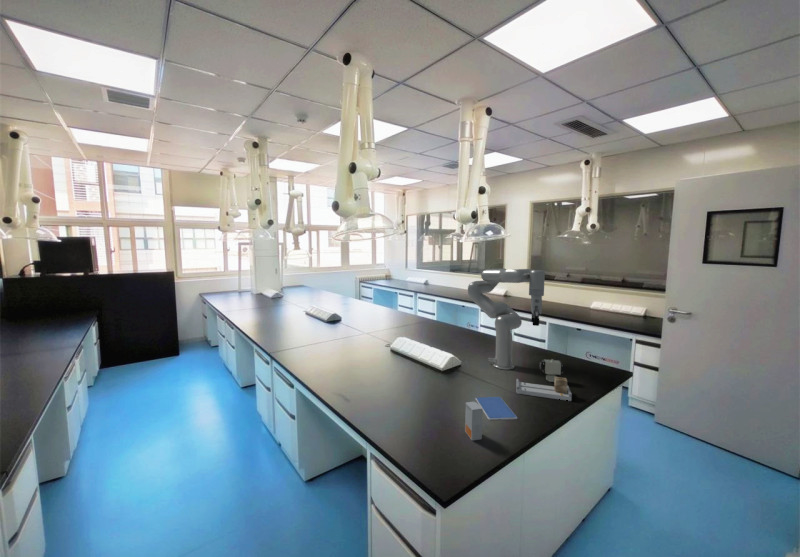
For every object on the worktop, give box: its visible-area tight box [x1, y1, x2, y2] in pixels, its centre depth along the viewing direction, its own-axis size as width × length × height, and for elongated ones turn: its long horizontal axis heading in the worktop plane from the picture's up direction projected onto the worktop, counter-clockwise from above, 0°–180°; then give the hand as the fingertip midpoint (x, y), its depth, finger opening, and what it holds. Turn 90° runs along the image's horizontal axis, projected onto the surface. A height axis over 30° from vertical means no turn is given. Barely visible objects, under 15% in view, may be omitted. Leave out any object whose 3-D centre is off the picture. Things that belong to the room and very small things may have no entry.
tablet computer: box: [474, 396, 518, 421], centre depth 140 cm, size 19×13×1 cm, turn 4°
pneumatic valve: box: [539, 358, 566, 383], centre depth 170 cm, size 6×12×12 cm, turn 76°
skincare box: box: [464, 401, 483, 441], centre depth 118 cm, size 6×4×12 cm
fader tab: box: [553, 376, 568, 393], centre depth 153 cm, size 5×4×6 cm
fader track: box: [515, 378, 573, 402], centre depth 155 cm, size 24×10×4 cm, turn 71°
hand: (535, 323), depth 173 cm, fingers open, 9 cm apart
